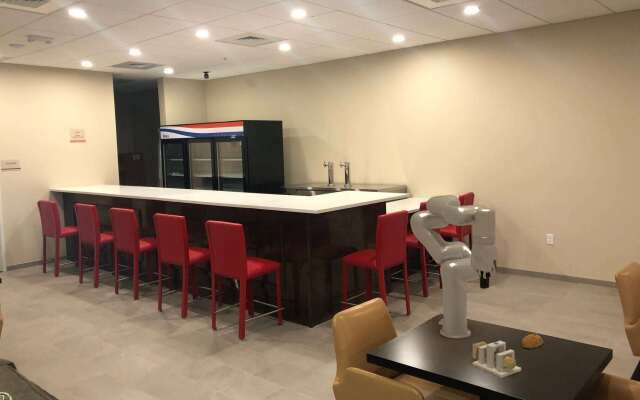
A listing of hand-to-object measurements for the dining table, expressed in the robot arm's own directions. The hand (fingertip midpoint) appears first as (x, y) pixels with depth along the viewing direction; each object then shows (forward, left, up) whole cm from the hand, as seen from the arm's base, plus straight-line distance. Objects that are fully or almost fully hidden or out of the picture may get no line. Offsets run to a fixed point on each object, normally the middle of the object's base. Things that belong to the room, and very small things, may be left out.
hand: (484, 287), depth 195 cm
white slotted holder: (+13, -9, -25) cm, 29 cm away
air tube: (+13, -9, -23) cm, 28 cm away
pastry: (+6, +19, -25) cm, 32 cm away
